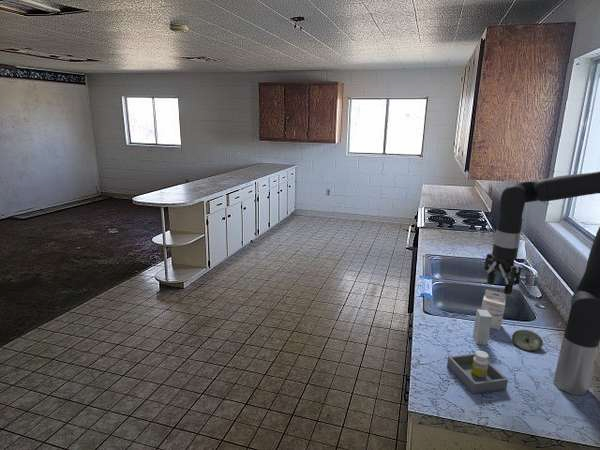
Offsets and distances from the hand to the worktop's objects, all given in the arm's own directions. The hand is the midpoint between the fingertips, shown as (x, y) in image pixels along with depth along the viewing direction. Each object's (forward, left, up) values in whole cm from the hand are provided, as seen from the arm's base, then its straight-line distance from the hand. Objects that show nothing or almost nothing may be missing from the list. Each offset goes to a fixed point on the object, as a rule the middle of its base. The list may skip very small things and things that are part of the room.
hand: (498, 288), depth 138 cm
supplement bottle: (+10, +9, -28) cm, 30 cm away
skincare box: (-6, -12, -28) cm, 31 cm away
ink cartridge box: (-18, -22, -28) cm, 40 cm away
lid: (-22, -6, -28) cm, 36 cm away
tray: (+10, +8, -28) cm, 31 cm away
